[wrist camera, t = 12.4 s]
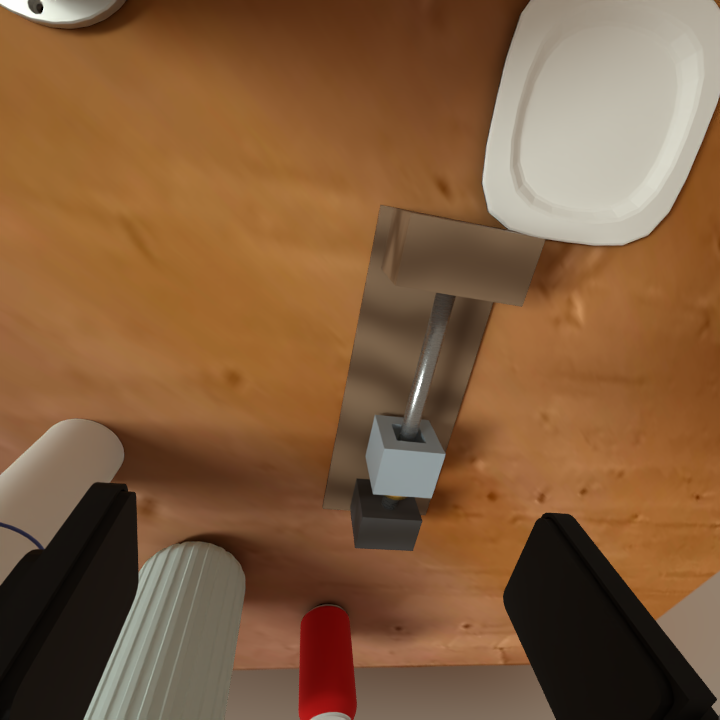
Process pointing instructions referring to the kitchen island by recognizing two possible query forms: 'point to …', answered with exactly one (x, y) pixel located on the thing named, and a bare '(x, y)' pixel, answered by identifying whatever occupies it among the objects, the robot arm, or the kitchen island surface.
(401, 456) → the grey sliding block
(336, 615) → the beverage can
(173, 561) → the vase
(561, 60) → the plate
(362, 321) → the slide base
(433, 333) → the metal rod
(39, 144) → the kitchen island surface
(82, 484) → the cylindrical container
